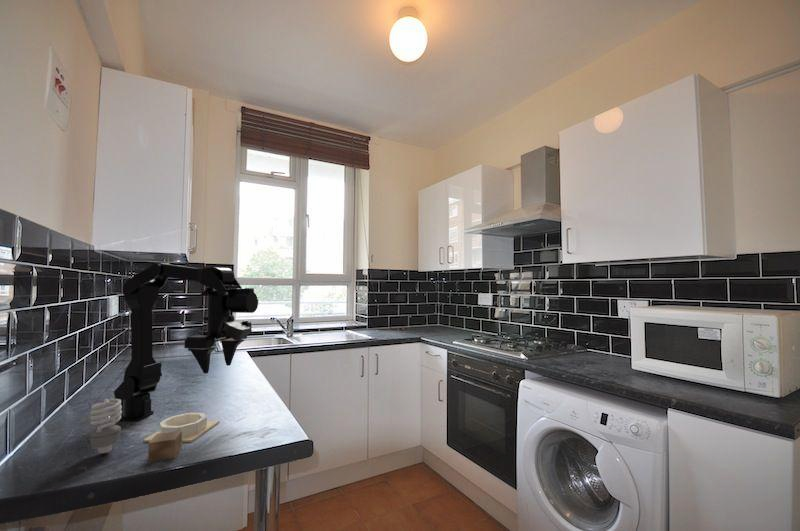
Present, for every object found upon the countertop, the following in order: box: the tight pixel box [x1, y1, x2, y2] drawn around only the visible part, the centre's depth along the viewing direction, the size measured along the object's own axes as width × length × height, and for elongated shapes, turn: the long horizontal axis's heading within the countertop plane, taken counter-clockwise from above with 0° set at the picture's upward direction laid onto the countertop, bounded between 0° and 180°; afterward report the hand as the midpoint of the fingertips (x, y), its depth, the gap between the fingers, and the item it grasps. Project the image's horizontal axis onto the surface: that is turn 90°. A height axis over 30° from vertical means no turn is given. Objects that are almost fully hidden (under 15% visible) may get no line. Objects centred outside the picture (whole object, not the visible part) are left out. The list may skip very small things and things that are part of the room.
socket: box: [142, 412, 220, 443], centre depth 92 cm, size 12×12×3 cm
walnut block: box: [147, 431, 183, 462], centre depth 80 cm, size 5×5×4 cm
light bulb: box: [89, 398, 122, 455], centre depth 81 cm, size 6×6×12 cm
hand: (217, 369), depth 99 cm, fingers open, 9 cm apart
